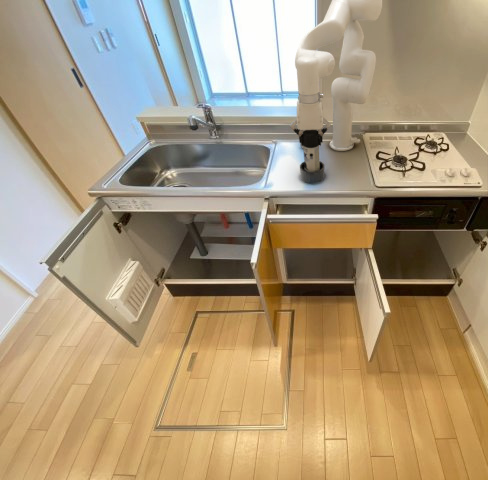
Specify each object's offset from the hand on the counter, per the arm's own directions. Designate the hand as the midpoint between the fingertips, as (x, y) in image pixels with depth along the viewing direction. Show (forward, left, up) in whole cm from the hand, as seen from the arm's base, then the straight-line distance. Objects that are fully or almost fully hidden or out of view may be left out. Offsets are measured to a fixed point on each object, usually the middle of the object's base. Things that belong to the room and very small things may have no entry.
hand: (311, 143), depth 109 cm
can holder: (0, 0, -16) cm, 16 cm away
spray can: (0, 0, -15) cm, 15 cm away
